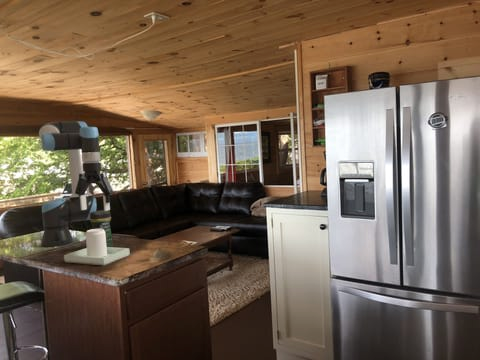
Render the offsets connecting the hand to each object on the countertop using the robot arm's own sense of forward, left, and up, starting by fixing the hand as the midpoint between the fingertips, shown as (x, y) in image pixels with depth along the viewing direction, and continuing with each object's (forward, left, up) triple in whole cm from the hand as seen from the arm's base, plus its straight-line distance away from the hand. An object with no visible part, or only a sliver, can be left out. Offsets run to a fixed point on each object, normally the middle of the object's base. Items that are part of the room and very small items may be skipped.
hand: (95, 210), depth 173 cm
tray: (+2, -3, -21) cm, 21 cm away
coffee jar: (-10, +13, -21) cm, 27 cm away
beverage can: (+2, -3, -21) cm, 21 cm away
